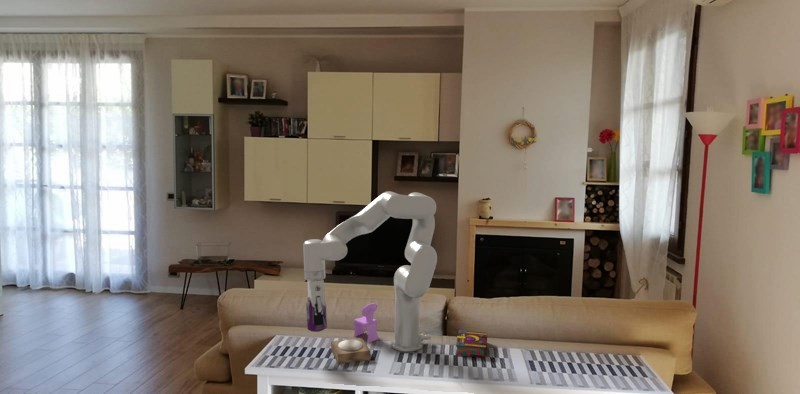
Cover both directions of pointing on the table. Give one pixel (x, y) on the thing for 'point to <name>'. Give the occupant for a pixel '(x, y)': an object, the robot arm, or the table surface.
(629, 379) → the table surface
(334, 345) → the base
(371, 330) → the toy chair
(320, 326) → the beverage can
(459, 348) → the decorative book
